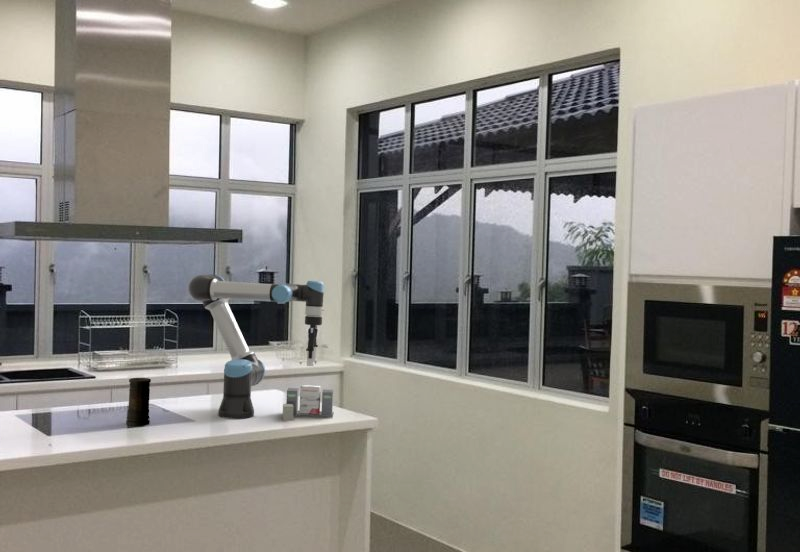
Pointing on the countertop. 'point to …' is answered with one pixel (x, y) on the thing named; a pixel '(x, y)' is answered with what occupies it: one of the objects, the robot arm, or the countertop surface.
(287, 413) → the block
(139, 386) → the container
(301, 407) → the ink box
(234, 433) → the countertop surface
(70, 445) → the countertop surface
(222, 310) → the robot arm
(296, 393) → the grey holder fixture
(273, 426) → the countertop surface
